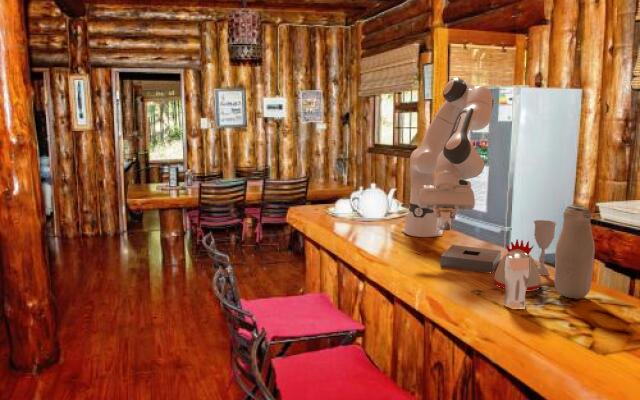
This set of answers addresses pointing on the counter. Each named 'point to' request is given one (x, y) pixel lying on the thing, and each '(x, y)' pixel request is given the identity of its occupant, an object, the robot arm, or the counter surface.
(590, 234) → the glass bottle
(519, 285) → the beer glass
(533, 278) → the kitchen timer
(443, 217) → the bushing
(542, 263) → the chalice
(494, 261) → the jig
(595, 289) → the counter surface
